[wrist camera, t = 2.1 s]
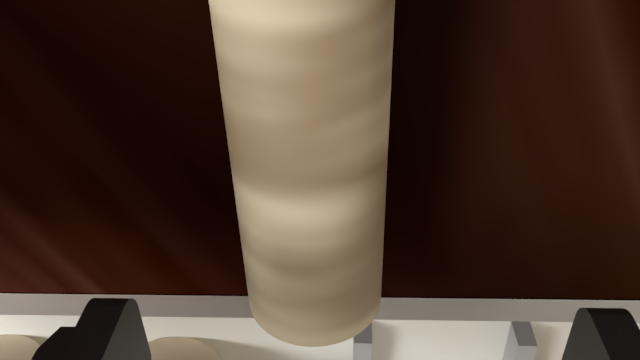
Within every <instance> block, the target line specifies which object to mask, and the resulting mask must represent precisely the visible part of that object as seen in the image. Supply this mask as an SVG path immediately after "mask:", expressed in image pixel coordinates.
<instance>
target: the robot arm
mask: <svg viewBox="0 0 640 360" xmlns="http://www.w3.org/2000/svg"><path fill="white" fill-rule="evenodd" d="M31 360H151V352H150V348H149V344H148V340H147V337H146V333H145V329H144V325H143V322H142V318H141V314H140V311H139V307H138V304H137V302H136V300H135V299H130V298H92V299H91V300H90V301H89V302H88V303H87V305H86V306H85V308H84V310H83V312H82V314H81V316H80V318H79V320H78V322H77V324H76V326H75V327H60V328H59V329H58V330H57V331H56V332H54V333H53V334H52V335H51V336H50V337H49V338H48V339H47V340H46V341H45V342H44V343H43V344H42V345H41V346H40V347H39V348H38V349H37V350H36V352H35V354H34V355H33V357H32V359H31ZM562 360H640V329H639V327H638V325H637V323H636V321H635V320H634V318H633V316H632V314H631V313H630V312H629V311H628V310H627V309H624V308H579V309H578V311H577V312H576V315H575V318H574V321H573V324H572V327H571V331H570V334H569V337H568V340H567V343H566V347H565V350H564V353H563V356H562Z"/></svg>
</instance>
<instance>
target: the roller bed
mask: <svg viewBox="0 0 640 360" xmlns="http://www.w3.org/2000/svg"><path fill="white" fill-rule="evenodd" d="M92 298H130V299H135V300H136V302H137V304H138V307H139V311H140V314H141V318H142V322H143V325H144V329H145V333H146V337H147V340H148V344H149V348H150V352H151V360H562V356H563V353H564V350H565V347H566V343H567V340H568V337H569V334H570V331H571V327H572V324H573V321H574V318H575V315H576V312H577V311H578V309H579V308H624V309H627V310H628V311H629V312H630V313H631V314H632V316H633V318H634V320H635V321H636V323H637V325H638V327H639V329H640V300H552V299H462V298H381V303H380V307H379V310H378V312H377V314H376V316H375V318H374V319H373V321H372V322H371V323H370V324H369V325H368V327H367V328H365V329H364V330H363V331H362V332H361V333H359V334H357V335H356V336H354V337H352V338H350V339H348V340H346V341H343V342H340V343H337V344H333V345H329V346H321V347H305V346H297V345H293V344H289V343H286V342H283V341H281V340H279V339H276V338H274V337H273V336H271V335H270V334H268V333H267V332H266V331H264V330H263V329H262V328H261V327H260V326H259V324H258V323H257V322H256V320H255V319H254V317H253V315H252V312H251V309H250V304H249V297H248V296H194V295H105V294H15V293H0V360H31V359H32V357H33V355H34V354H35V352H36V350H37V349H38V348H39V347H40V346H41V345H42V344H43V343H44V342H45V341H46V340H47V339H48V338H49V337H50V336H51V335H52V334H53V333H54V332H56V331H57V330H58V329H59V328H60V327H75V326H76V324H77V322H78V320H79V318H80V316H81V314H82V312H83V310H84V308H85V306H86V305H87V303H88V302H89V301H90V300H91V299H92Z"/></svg>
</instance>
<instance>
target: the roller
mask: <svg viewBox="0 0 640 360" xmlns="http://www.w3.org/2000/svg"><path fill="white" fill-rule="evenodd" d="M209 7H210V15H211V22H212V30H213V37H214V45H215V52H216V59H217V67H218V74H219V82H220V89H221V97H222V104H223V111H224V119H225V126H226V134H227V141H228V149H229V156H230V163H231V171H232V178H233V186H234V193H235V201H236V208H237V215H238V223H239V230H240V238H241V245H242V253H243V260H244V268H245V275H246V282H247V290H248V297H249V304H250V309H251V312H252V315H253V317H254V319H255V320H256V322H257V323H258V324H259V326H260V327H261V328H262V329H263V330H264V331H266V332H267V333H268V334H270V335H271V336H273V337H274V338H276V339H279V340H281V341H283V342H286V343H289V344H293V345H297V346H305V347H321V346H329V345H333V344H337V343H340V342H343V341H346V340H348V339H350V338H352V337H354V336H356V335H357V334H359V333H361V332H362V331H363V330H364V329H365V328H367V327H368V325H369V324H370V323H371V322H372V321H373V319H374V318H375V316H376V314H377V312H378V310H379V307H380V303H381V287H382V266H383V245H384V224H385V203H386V182H387V161H388V140H389V119H390V98H391V77H392V55H393V34H394V13H395V0H209Z"/></svg>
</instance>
